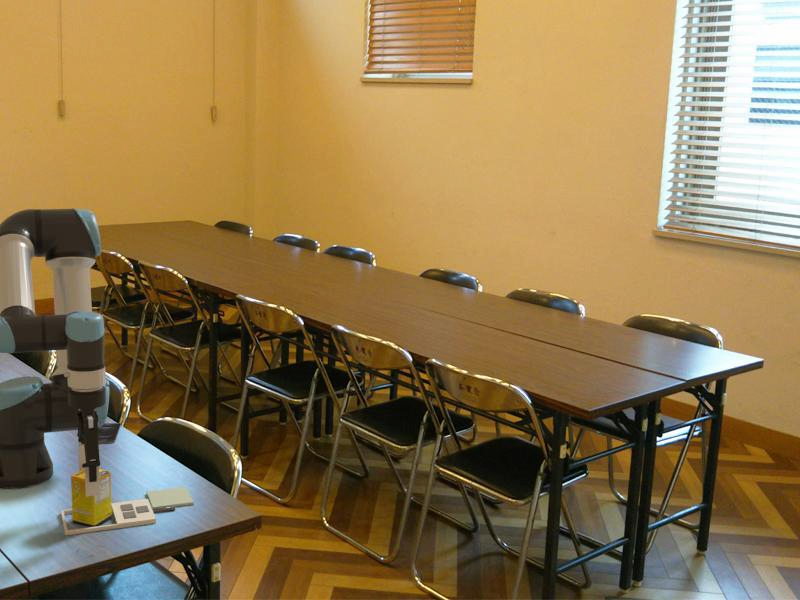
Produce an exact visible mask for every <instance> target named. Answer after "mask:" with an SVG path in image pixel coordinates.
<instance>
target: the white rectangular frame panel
mask: <svg viewBox="0 0 800 600" xmlns="http://www.w3.org/2000/svg"><path fill="white" fill-rule="evenodd" d="M111 508H112V516H113V518H114V521H115V523H113V524H106V525H99V526H97V527H83V528H74V529H68V526H67V522H66V517H65V515H70V514H72V508H69V509H63V510H61V509H60V514H61V520H62V527H63V531H64V535H65V536H70V535H77V534H85V533H86V534H87V533H92V532H93V533H94V532H98V531H99V532H100V531H107V530H114V529H121V528H122V529H123V528H129V527H130V528H131V527H136V526H145V524H146V525H151V524H152V523H153V524H157V518H156V515H155V513H160V512H161V513H162V512H169V511H176V507H175V506H170V507H162V508H154V509H153V508H152V506H151V503H150V501H149V499H148V498H145V499H143V498H142V499H135V500H127V501H120V502H118V501H117V502H111ZM153 524H152V525H153Z"/></svg>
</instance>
